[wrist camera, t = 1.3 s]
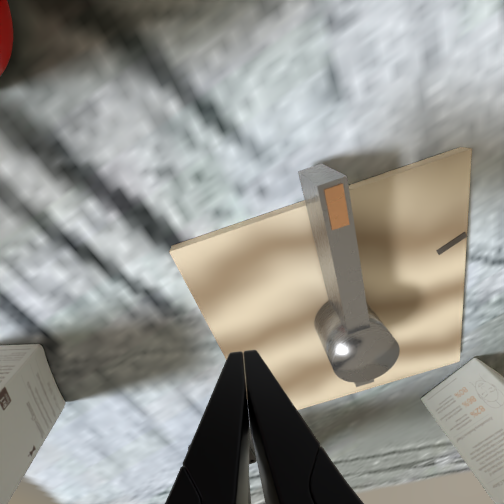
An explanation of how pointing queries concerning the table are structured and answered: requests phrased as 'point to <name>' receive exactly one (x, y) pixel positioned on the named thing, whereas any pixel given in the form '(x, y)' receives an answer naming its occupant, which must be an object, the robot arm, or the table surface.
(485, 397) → the small box
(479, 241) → the table surface
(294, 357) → the base plate
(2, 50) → the soda can
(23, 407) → the skincare box
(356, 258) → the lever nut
